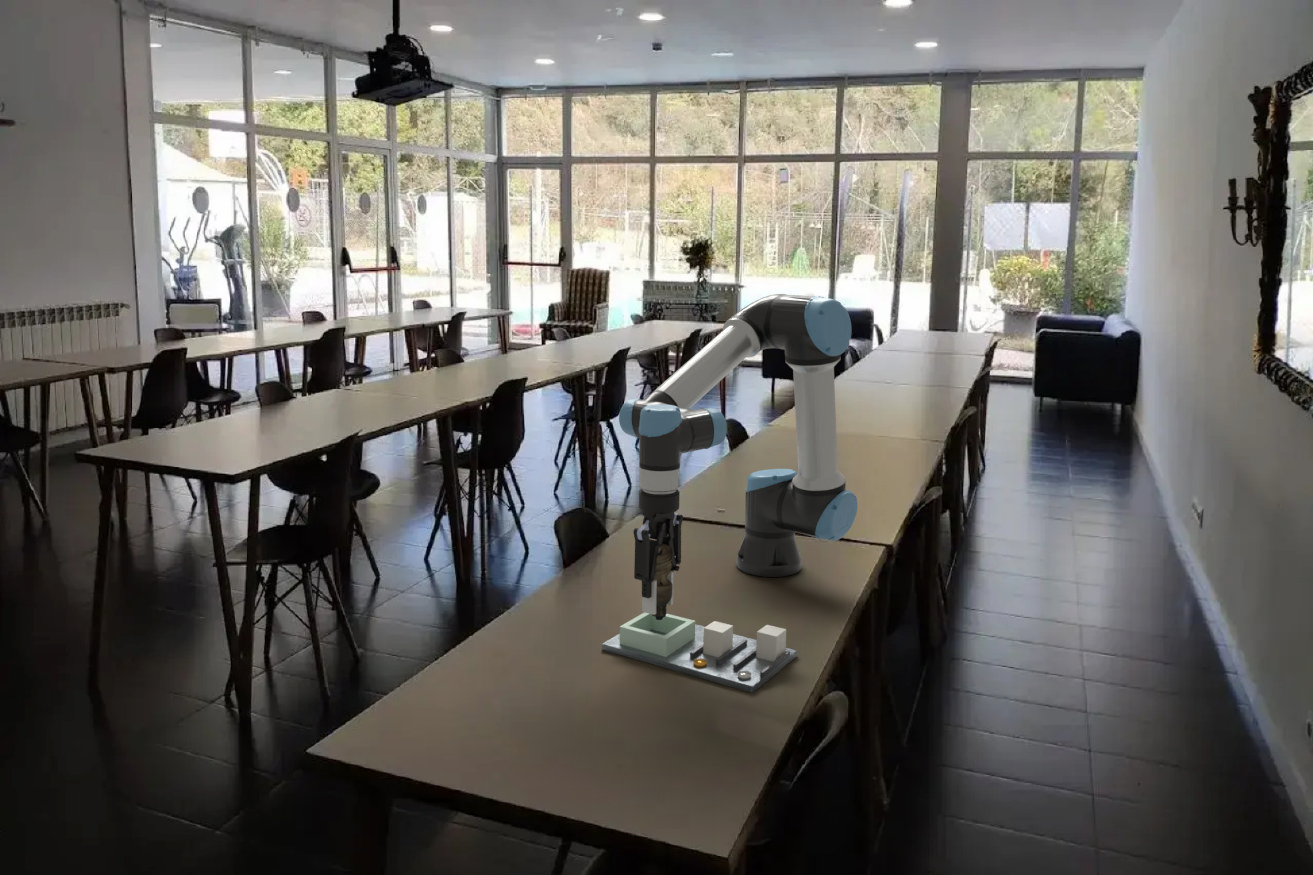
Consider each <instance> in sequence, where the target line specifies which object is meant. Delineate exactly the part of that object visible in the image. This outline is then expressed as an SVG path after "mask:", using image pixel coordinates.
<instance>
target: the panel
mask: <svg viewBox="0 0 1313 875" xmlns="http://www.w3.org/2000/svg"><path fill="white" fill-rule="evenodd" d="M704 627H705V626H704V625H700V624H696V623H695V638H694V639H693V640H691V641H690V642H688V643H687V644H685V645H684V646H682V647H680V648H679V649H677V650H676V651H674V652H673V653H671V654H670V655H668V656H667V657H665V656H661V655H657V654H654V653H650V652H647V651H643V650H640V649H636V648H632V647H629V646H625V645H622V644H620V633H618V634H616V635H615V636H613V637H612V638H610V639H608V640H605V641H603V643H602V644H601V650H603V651H606V652H609V653H611V654H612V653H613V654H616V655H619V656H622V657H626V658H630V659H634V660H637V661H641V662H643V663H648V664H651V665H655V666H657V667H661V668H664V669H668V670H672V671H675V672H678V673H682V674H686V675H688V676H692V677H696V678H699V679H702V680H706V681H710V682H714V683H718V684H721V685H724V686H727V687H731V688H734V689H738V690H741V691H745V692H748V693H752V694H753V693H754V692H755V691H757V689H759V688H760V687H761V686H762V685H764V684H765V683H766V682H767V681H768V680H770V679H772V678H773V677H774V676H775V675H777V674H778V672H780V671H781V670H782V669H784V668H785V667H786V666H787V665H788V664H790V663H791V662H792V661H793V660H794V659H796V658H797V657H798V650H797V649H793V648H789V647H786V652H785V653H783V654H782V655H781V656H780V657H778V658H777V659H776V660H775V661H769V660H765V659H761V658H757V657H756V647H757V639H754V638H749V637H746V636H742V635H740V634H735V633H733V648H731V649H730V650H728V651H727V652H726V653H724V654H723V655H721V656H720V657H715V656H712V655H708V654H704V653H703V638H704ZM649 632H653V633H657V634H661V635H666V634H667V633H663V632H660V631H656V630H652V629H651V630H650V631H649Z"/></svg>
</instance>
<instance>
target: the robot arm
mask: <svg viewBox="0 0 1313 875" xmlns="http://www.w3.org/2000/svg"><path fill="white" fill-rule="evenodd" d="M851 338H852V321H851V318H850V314H849V312H848V310H847V308H846V307H845V306H844V305H843V304H842V303H841V301H839V300H837V299H833V298H827V297H824V296H820V295H818V296H817V295H815V296H814V295H813V296H812V295H795V294H793V295H792V294H784V293H776V294H770V295H766V296H763V297H762V298H759V299H757V300H755V301H753V302H751V303H749V304H747V305H746V306H744V307H743V308H741V309H739V311H737V312H736V313H735V314H733V315H732V316H731V317H730V318H729V319H727V320H726V321H725V322H724V324H723V326H722V330H721V332H720V333H718V334H717V335H716V336H715V337H714V338H713V339H711V340H710V341H709V342H708V343H707V344H706V345H705V346H704V347H702V348H701V349H700V350H699V351H698V352H697V353H695V354H694V356H692V357H691V358H690V359H689V360H688V361H686V362H685V363H684V364H683V365H682V366H681V367H679V368H678V369H677V370H676V371H675V372H674V373H673V374H672V375H671V376H669V377H668V378H667V379H666V380H664V381H663V383H662V384H660V385H659V386H658V387H657V388H656V389H655V390H654V391H652V392H651V393H650V394H649V395H648V396H646V397H645V398H644V399H642V398H632V399H628V400H627V401H625V402H624V403H623V404H622V407H620V410H619V415H618V422H619V425H620V428H621V430H622V432H623V433H625V434H626V435H628V436H631V437H635V438H637V439H638V440H639V441H638V442H639V443H638V444H639V446H638V448H639V450H638V451H639V452H638V453H639V456H638V457H639V461H638V462H639V464H638V465H639V469H638V472H639V474H638V475H639V479H638V480H639V481H638V482H639V484H638V486H639V488H640V489H639V491H638V508H639V510H640V511H641V512H643V520H642V525H641V526H640V527H639V528H637V527H635V528H634V529H633V531H632V532H633V537H634V575H633V578H634V579H635V580H637V581H638V580H639V581H641V612H642V613H644V612H645V613H649V614H653V615H655V614H656V595H657V581H656V580H654V575H655V569H656V563H657V561H656V559H657V556H658V550H659V546H660V545H661V544H662V543H663V544H666V545H668V546H670V547H671V548H672V551H673V552H672V561H671V564H672V567H671V569H670V570H671V571H670V573H669V574H668V576H667V580H669V581H671V583H672V584H673V585H674V582H675V581H674V579H675V578H674V577H675V576H674V574H675V571H676V572H678V571H679V570H680V564H681V563H682V526H683V525H682V524H683V519H684V515H683V514H680V513H676V512H678V511H679V509H680V493H681V492H680V491H679V488H680V487H681V455H682V454H686V453H691V452H695V451H696V452H697V451H701V450H708V449H710V448H713V447H715V446H718V445H720V444H722V443H723V441H724V440H725V438H726V436H727V430H728V429H727V428H728V427H727V426H728V425H727V424H728V423H727V421H726V418H725V416H724V414H723V413H722V412H721V411H720V410H718V409H717V408H714V407H707V408H706V407H701V408H699V409H692V407H694V405H695V404H697V402H699V401H700V400H701V399H702V398H703V397H704V396H705V395H707V393H709V392H710V391H711V390H712V389H713V388H714V387H715V386H716V385H718V383H720V382H721V381H722V380H723V379H724V378H725V377H727V375H729V373H731V372H732V371H733V370H734V369H735V368H736V367H738V366H739V365H740V364H741V362H742V361H744V360H745V359H746V358H754V357H755V356H757V354H759V353H760V352H761V351H763V350H766V349H768V350H769V349H777V350H778V349H780V350H784V359H785V360H784V361H785V363H786V364H787V365H788V367H789V368H791V369H792V371H793V372H792V373H793V375H792V377H793V390H794V391H793V392H794V408H795V409H794V411H795V414H794V415H795V428H796V429H795V430H796V448H797V465H798V472H797V471H796V470H794V469H791V468H770V469H762V470H756V471H754V472H751V473H750V474H749V475H748V476H747V478H746V487H745V491H744V492H745V503H744V504H745V509H744V510H745V511H744V512H745V516H744V535H743V538H742V541H741V544H740V546H739V549H738V551H737V555H736V568H737V569H739V570H740V571H741V572H743V573H746V574H749V575H752V576H757V577H767V578H768V577H769V578H774V577H775V578H779V577H781V578H782V577H788V576H791V575H794V574H797V573H799V572H800V571H801V569H802V557H801V554H800V549H799V546H798V543H797V542H798V541H797V538H796V533H798V534H803V535H805V536H809V537H814V538H816V539H818V540H827V541H830V542H834V541H838V540H840V539H842V538H843V537H845V536H846V534H848V532H849V531H850V529H851V528H852V527H853V524H854V522H855V520H856V517H857V512H858V506H859V504H858V499H857V498H858V497H857V496H856V495H855V493H854V492H853V491H851V490H849V489H848V490H847V488H846V487H847V486H846V485H847V484H846V477H845V475H844V474H842V473H841V472H840V471H839V462H838V442H837V441H838V440H837V439H838V437H837V417H836V416H837V414H836V391H835V390H836V389H835V366H837V364H838V363H839V362H840V361H841V360H842V359H841V358H842V357H841V355H842V354H843V353H844V352H846V350H847V349H848V348H849V345H850V342H849V340H851ZM673 604H674V588H673V589H672V597H671V599H670V601H669V602H668V603H667V605H669V606H672V605H673Z"/></svg>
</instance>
